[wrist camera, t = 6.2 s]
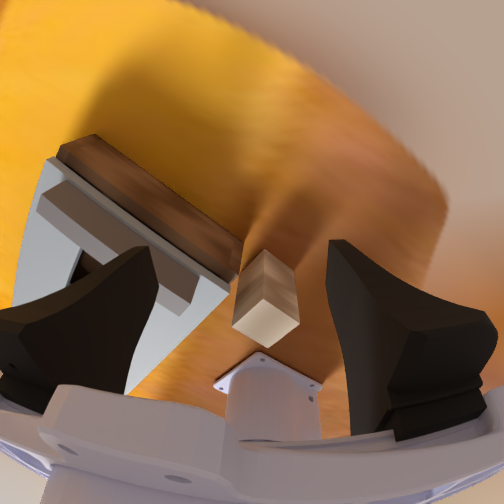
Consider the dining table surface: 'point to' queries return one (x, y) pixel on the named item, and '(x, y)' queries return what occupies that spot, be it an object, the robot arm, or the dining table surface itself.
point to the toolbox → (150, 208)
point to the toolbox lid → (104, 250)
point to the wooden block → (266, 300)
